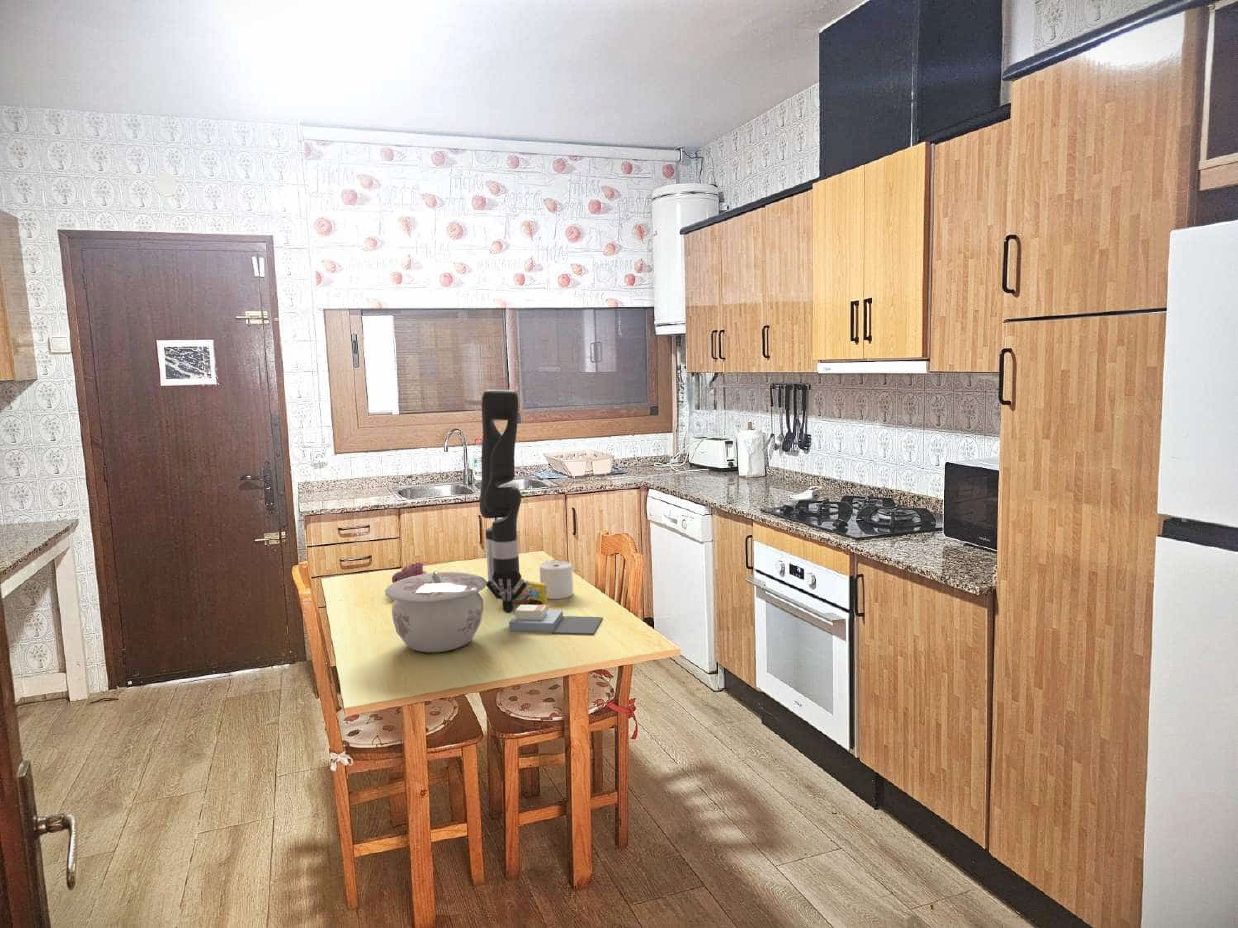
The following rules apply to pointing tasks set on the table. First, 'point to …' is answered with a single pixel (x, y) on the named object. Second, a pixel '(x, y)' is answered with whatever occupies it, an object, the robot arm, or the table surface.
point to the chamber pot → (437, 610)
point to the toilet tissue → (557, 579)
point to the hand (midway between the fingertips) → (508, 612)
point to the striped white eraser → (531, 612)
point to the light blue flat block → (537, 622)
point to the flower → (409, 572)
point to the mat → (577, 625)
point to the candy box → (531, 594)
